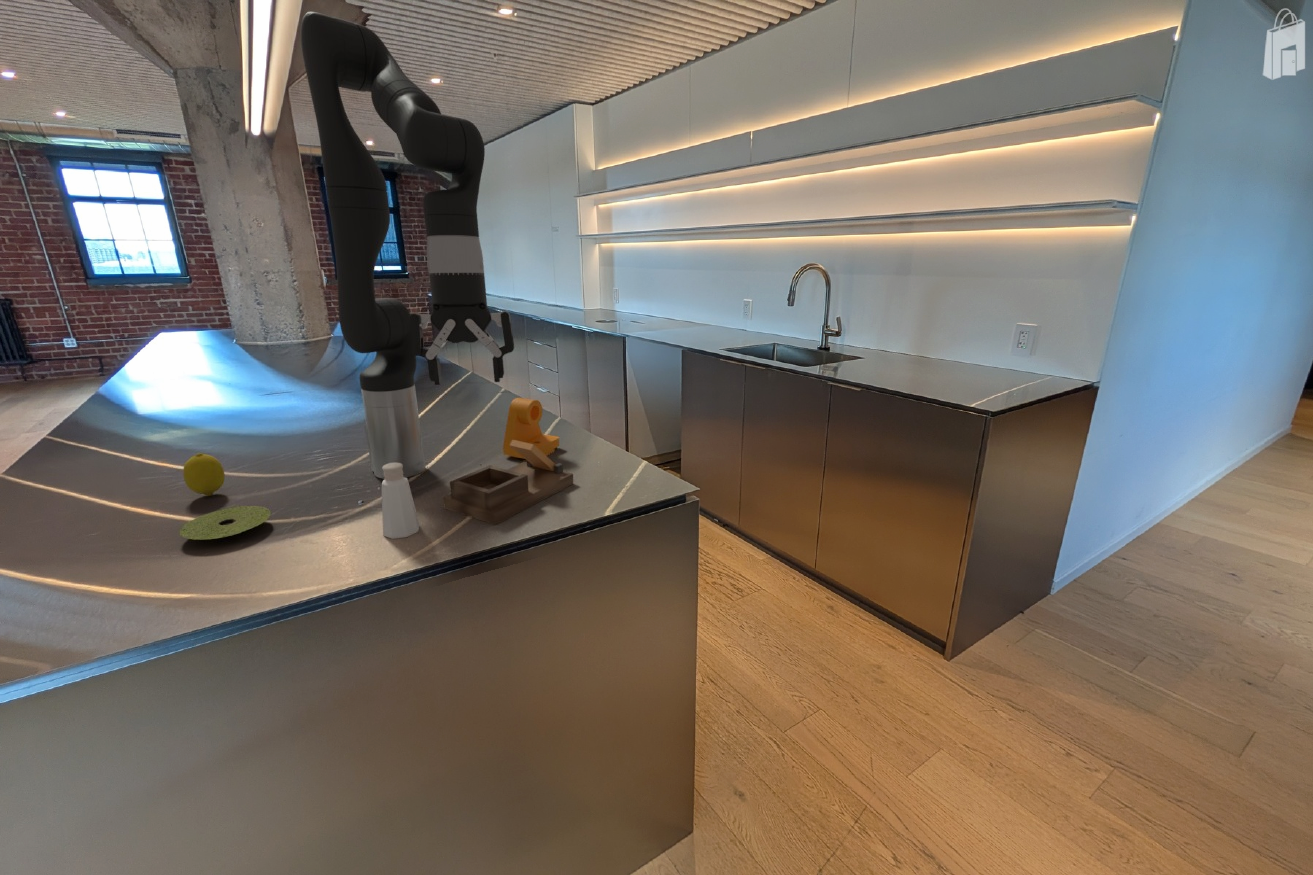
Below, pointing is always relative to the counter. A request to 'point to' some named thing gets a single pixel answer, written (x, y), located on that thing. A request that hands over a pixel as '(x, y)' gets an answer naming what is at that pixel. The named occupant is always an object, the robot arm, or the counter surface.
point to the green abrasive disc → (225, 522)
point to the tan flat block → (533, 455)
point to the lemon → (203, 474)
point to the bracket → (527, 427)
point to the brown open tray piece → (504, 490)
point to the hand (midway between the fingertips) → (468, 382)
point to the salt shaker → (397, 504)
